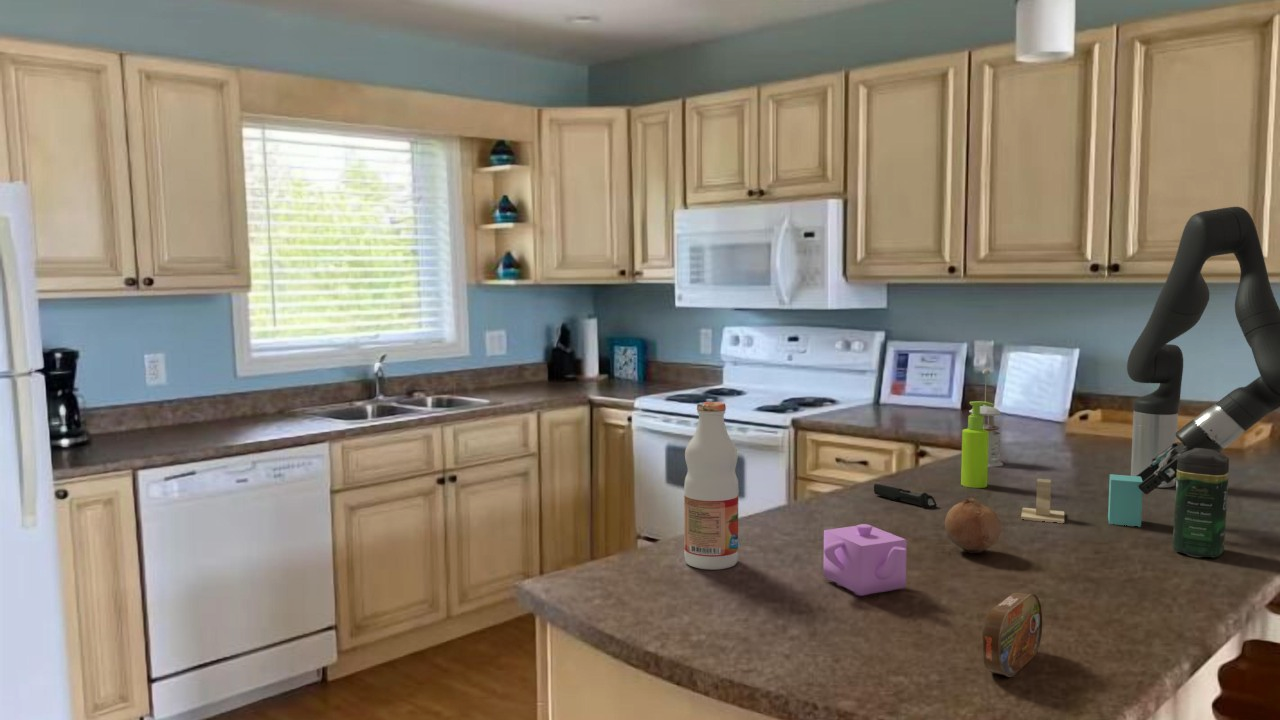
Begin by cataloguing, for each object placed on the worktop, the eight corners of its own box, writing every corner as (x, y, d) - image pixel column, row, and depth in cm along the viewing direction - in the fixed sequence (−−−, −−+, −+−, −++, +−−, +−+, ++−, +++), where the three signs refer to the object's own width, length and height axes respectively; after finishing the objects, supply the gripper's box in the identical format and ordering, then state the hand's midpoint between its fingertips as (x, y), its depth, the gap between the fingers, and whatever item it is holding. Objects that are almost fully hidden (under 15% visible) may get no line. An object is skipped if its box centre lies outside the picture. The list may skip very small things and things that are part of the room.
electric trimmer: (880, 495, 212) (880, 481, 212) (937, 507, 199) (938, 493, 199) (869, 497, 210) (869, 484, 209) (926, 510, 197) (927, 495, 197)
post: (1022, 510, 196) (1023, 475, 195) (1064, 514, 193) (1065, 478, 192) (1020, 519, 189) (1022, 482, 188) (1064, 523, 185) (1065, 486, 185)
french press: (963, 465, 243) (965, 370, 241) (965, 457, 254) (967, 366, 251) (1003, 467, 239) (1006, 371, 237) (1003, 459, 250) (1006, 367, 248)
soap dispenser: (993, 488, 216) (996, 403, 214) (962, 487, 217) (965, 403, 216) (989, 483, 222) (992, 400, 220) (959, 482, 223) (961, 399, 221)
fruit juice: (678, 556, 165) (677, 400, 163) (728, 552, 167) (728, 399, 165) (692, 572, 156) (692, 408, 153) (745, 568, 158) (746, 406, 156)
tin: (1001, 686, 112) (1003, 619, 112) (976, 679, 115) (978, 613, 114) (1044, 649, 124) (1046, 587, 123) (1020, 643, 126) (1022, 582, 125)
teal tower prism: (1108, 517, 190) (1109, 474, 189) (1138, 520, 188) (1140, 476, 187) (1109, 524, 185) (1111, 479, 184) (1140, 527, 182) (1142, 482, 182)
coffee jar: (1221, 562, 160) (1226, 456, 158) (1168, 554, 165) (1173, 451, 163) (1227, 549, 168) (1232, 448, 166) (1177, 541, 172) (1182, 443, 171)
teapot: (937, 600, 142) (938, 536, 141) (862, 614, 137) (863, 547, 136) (864, 567, 159) (865, 509, 158) (795, 578, 153) (796, 518, 152)
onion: (937, 545, 171) (939, 492, 170) (989, 545, 171) (990, 492, 170) (953, 560, 162) (955, 504, 161) (1008, 561, 161) (1009, 504, 160)
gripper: (1189, 413, 186) (1123, 465, 192) (1199, 423, 173) (1127, 478, 179) (1219, 441, 184) (1151, 492, 190) (1231, 453, 171) (1157, 508, 177)
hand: (1140, 486), depth 184 cm, fingers open, 8 cm apart
